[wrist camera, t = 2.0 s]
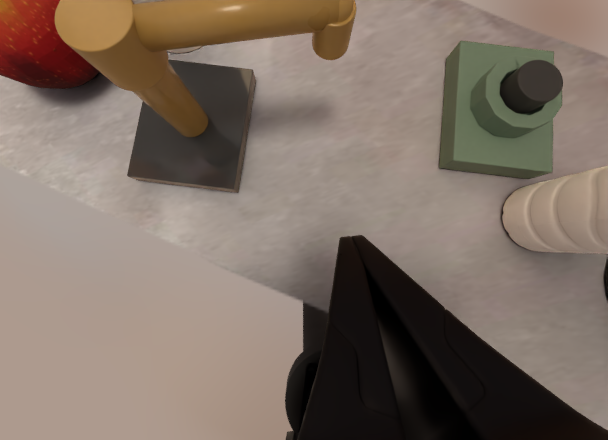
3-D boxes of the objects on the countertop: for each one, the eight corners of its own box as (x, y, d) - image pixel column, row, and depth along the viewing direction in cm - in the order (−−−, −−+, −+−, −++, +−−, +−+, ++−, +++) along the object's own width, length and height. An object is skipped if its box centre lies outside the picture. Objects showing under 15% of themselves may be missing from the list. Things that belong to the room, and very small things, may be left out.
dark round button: (539, 116, 19) (563, 104, 18) (498, 111, 19) (517, 98, 18) (540, 77, 20) (563, 61, 18) (499, 73, 20) (518, 56, 18)
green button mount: (528, 179, 22) (577, 165, 18) (438, 168, 22) (467, 152, 19) (531, 68, 24) (577, 33, 20) (445, 58, 24) (474, 21, 20)
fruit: (67, 128, 23) (-115, 39, 13) (3, 57, 23) (-218, -80, 14) (149, 60, 24) (37, -73, 14) (84, -7, 24) (-68, -180, 14)
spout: (112, 99, 14) (54, 55, 11) (109, 43, 15) (52, -16, 11) (352, 69, 15) (367, 18, 11) (343, 15, 15) (355, -51, 12)
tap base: (238, 193, 22) (199, 162, 14) (138, 180, 22) (39, 142, 14) (256, 80, 23) (230, -10, 15) (161, 69, 23) (82, -28, 15)
